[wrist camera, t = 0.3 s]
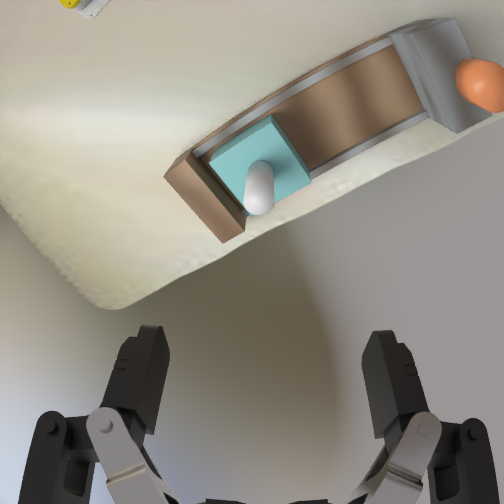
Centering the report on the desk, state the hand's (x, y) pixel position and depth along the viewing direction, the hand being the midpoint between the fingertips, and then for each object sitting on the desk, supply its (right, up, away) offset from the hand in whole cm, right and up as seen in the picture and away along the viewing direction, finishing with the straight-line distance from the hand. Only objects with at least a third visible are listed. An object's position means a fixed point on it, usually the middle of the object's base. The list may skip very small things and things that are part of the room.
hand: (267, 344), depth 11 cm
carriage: (0, +13, +21) cm, 25 cm away
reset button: (+17, +17, +6) cm, 25 cm away
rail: (+6, +17, +20) cm, 27 cm away
